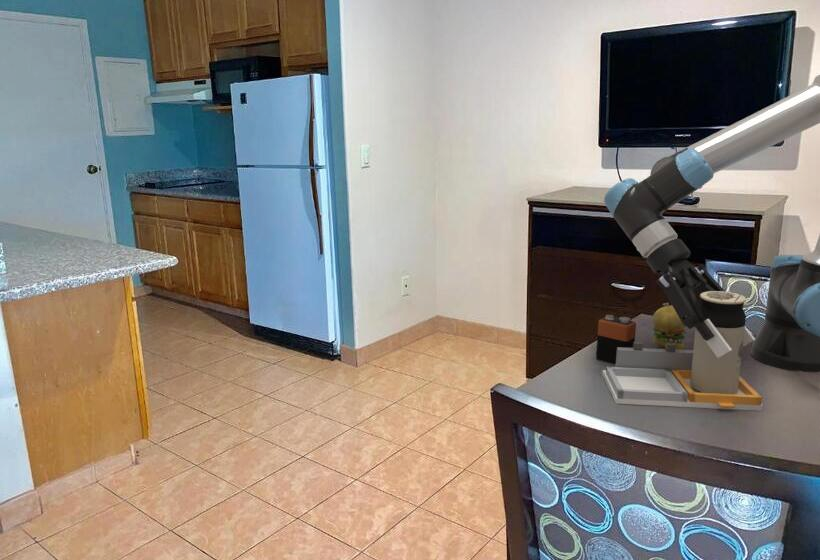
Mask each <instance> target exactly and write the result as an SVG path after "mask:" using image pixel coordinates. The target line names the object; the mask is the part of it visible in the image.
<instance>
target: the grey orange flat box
mask: <svg viewBox="0 0 820 560" xmlns="http://www.w3.org/2000/svg"><path fill="white" fill-rule="evenodd" d="M643 345H644V344H643V342H642V341H635V342H633V348H622V347H617V354H616V364H615V366H606V369H602V372H601V374H602V375H601V376H602V378H603V379H604V381H605V383H606V385H607V388H608V389H609V392H610V394H611V396H612V398H613V401H614V403H615V404H617V405H619V404H620V405H638V406H639V405H640V406H642V405H643V406H657V407H659V406H660V407H680V408H698V409H717V410H718V409H719V410H736V411H737V410H739V411H740V410H742V411H758V412H759V411H760V412H763V406H764V405H763V404H762V402H763V401H762V399H763V397H762V396H761V395H760V394H759V393H758V392H757V391H756V390H755V389H754V388H753V387H752V386H751V385H749V383H747V382H746V380H745V379H743V378H742V377H741V376H740V375H739V384H738V391H737V393H735V394H717V393H702V392H699V391H698V390H696V389H694V388H693V387H692V386H691V384H690V382H691V371H692V360H693V350H694V349H684V350H676V349H675V347H676V345H675V344H674V343H666V346H665V349H662V348H649V347H648V348H645V347H644V346H643Z"/></svg>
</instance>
